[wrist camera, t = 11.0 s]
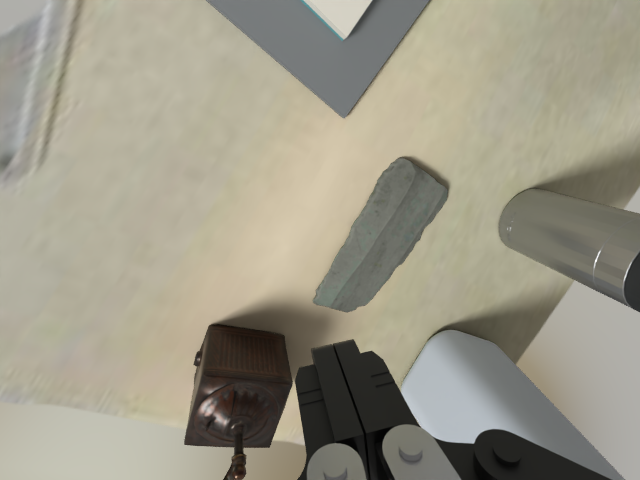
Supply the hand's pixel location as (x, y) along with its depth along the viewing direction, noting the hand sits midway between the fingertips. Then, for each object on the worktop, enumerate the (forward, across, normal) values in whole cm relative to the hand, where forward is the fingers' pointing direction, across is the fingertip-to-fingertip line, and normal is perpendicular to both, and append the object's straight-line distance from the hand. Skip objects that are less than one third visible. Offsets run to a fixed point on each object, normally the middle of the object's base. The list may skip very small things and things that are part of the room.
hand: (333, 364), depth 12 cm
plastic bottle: (+31, -23, +34) cm, 52 cm away
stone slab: (+31, -12, +9) cm, 35 cm away
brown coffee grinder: (+30, +10, +25) cm, 40 cm away
